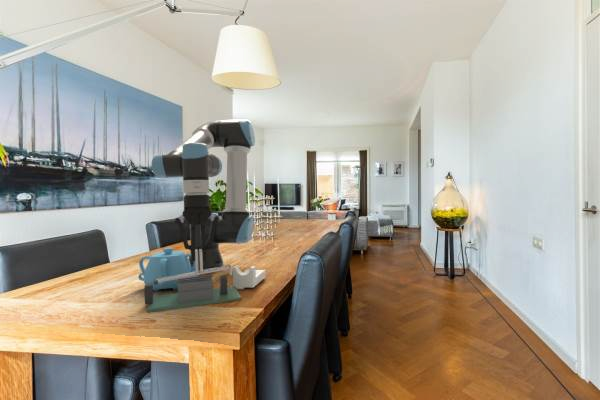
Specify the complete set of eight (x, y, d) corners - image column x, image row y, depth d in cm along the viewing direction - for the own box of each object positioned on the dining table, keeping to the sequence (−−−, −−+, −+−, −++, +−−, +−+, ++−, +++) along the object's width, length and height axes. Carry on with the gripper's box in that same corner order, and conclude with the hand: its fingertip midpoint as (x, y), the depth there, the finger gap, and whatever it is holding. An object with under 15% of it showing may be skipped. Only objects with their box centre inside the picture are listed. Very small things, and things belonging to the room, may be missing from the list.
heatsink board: (147, 299, 101) (146, 279, 101) (234, 288, 110) (234, 270, 110) (143, 313, 90) (142, 290, 90) (241, 299, 99) (240, 279, 99)
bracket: (253, 290, 109) (252, 268, 109) (233, 289, 111) (232, 267, 110) (265, 279, 122) (265, 259, 121) (247, 278, 123) (247, 258, 123)
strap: (155, 287, 98) (153, 278, 97) (230, 272, 105) (229, 263, 105) (154, 290, 95) (153, 280, 94) (232, 275, 102) (231, 265, 102)
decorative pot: (180, 277, 126) (178, 242, 125) (202, 285, 115) (201, 247, 115) (136, 287, 114) (134, 249, 113) (156, 297, 103) (155, 254, 103)
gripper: (172, 195, 94) (175, 276, 94) (220, 193, 98) (223, 271, 99) (172, 194, 101) (175, 270, 101) (217, 193, 105) (220, 266, 106)
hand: (199, 270), depth 100 cm, fingers closed
